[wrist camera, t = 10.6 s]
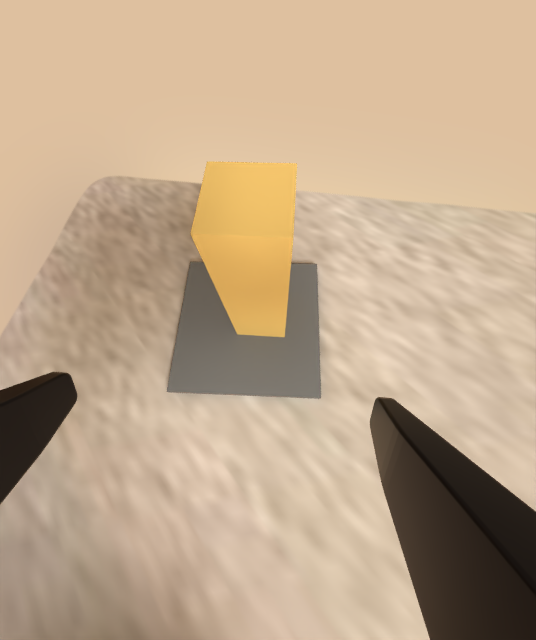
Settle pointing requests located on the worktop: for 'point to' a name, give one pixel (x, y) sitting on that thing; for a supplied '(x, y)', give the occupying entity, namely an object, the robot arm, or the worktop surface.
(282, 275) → the ochre post
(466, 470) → the robot arm
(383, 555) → the worktop surface
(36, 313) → the worktop surface
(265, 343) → the charcoal mat
